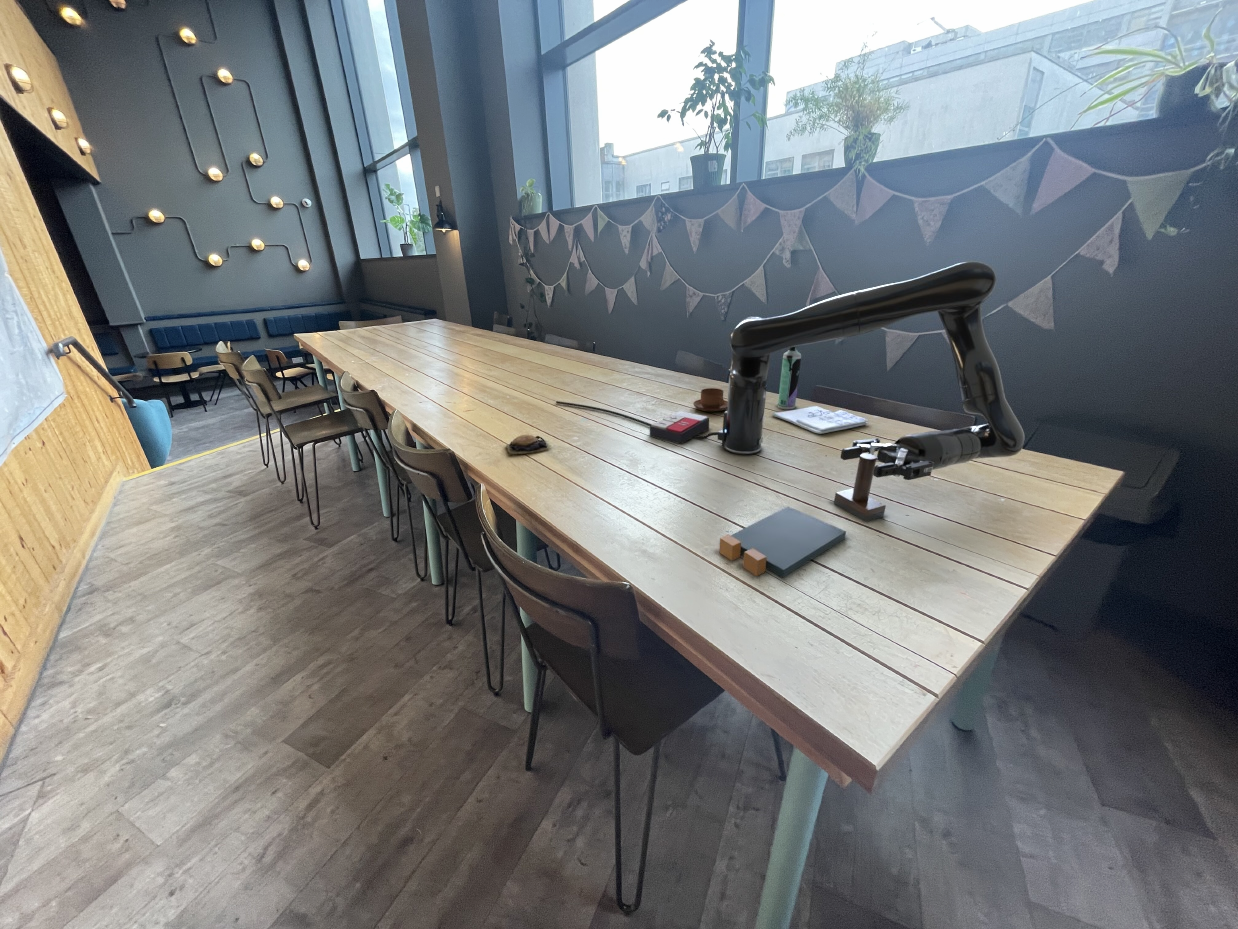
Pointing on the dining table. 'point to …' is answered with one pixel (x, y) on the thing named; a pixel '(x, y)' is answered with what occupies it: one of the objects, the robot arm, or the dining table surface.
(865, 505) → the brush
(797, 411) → the folded bicycle print cloth
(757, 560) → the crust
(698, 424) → the red-topped box
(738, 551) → the brown wooden block
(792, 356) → the spray can
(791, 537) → the tray
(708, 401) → the cup and saucer
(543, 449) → the brown domed lump
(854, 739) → the dining table surface
